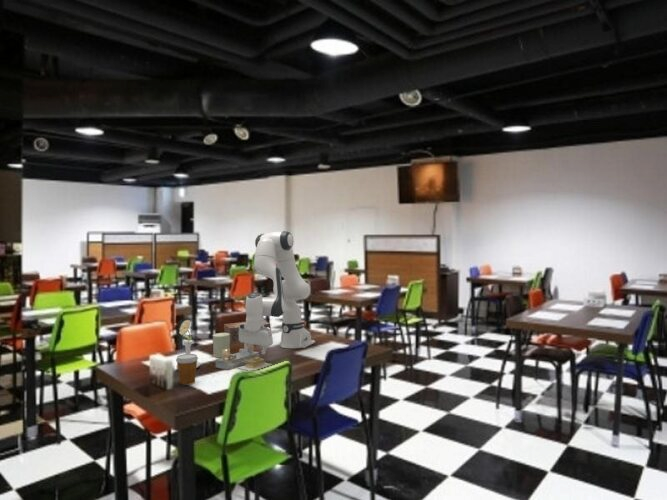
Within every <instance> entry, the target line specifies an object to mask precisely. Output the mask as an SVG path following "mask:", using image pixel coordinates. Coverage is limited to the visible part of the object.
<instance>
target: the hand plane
mask: <svg viewBox="0 0 667 500" xmlns="http://www.w3.org/2000/svg"><path fill="white" fill-rule="evenodd" d="M243 346H244V347H243V348H239V352H236V353H231V348H230V349H223V350H222V357H218V358H216V359H215V368H218V369H221V370H226V371H231V370H233V369H236V368H239V367H242V366H245V365H246V361H247V360H250V359H253V358H254V357H260V352H259V351H255V349H254V348H255V346H254V344H249V346H250V348H251V352H247V348H246V346H245V343H243Z"/></svg>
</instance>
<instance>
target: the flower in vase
mask: <svg viewBox="0 0 667 500" xmlns="http://www.w3.org/2000/svg"><path fill="white" fill-rule="evenodd" d="M190 327H191V321H190V320H189V319H186V320H184V321H183V322H182V323H181V325H180V327H179V329H178V330H179V334H180V335H181V336H184V337H185V338H186V340H182V343H183V345H184V348H185V354H192V353H191V347H192V344H193V342H194V340H193V339H192V335H191V334H190V333H191V332H190V331H189V330H190ZM187 333H188V334H189V335H188V334H187ZM200 366H201V362H200V361H199V360H198V359H197V365H196V369H197V368H199V367H200ZM176 368H177V369H178V365H177V364H176Z"/></svg>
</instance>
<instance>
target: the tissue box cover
mask: <svg viewBox="0 0 667 500" xmlns="http://www.w3.org/2000/svg"><path fill="white" fill-rule="evenodd" d="M245 322H246V321H241V322H234V323H233V322H232V323H224V324H223V330H224V331H223V333H229V334H230V345H232V344H233V345H234V344H241V343H242V342H240V341H239V325H240V324H242V323H245ZM264 327H268V328H269V329H270V330H271V323H270V322H268V321H265V320H264ZM269 329H268V330H269Z"/></svg>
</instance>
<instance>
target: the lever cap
mask: <svg viewBox="0 0 667 500" xmlns="http://www.w3.org/2000/svg"><path fill="white" fill-rule="evenodd" d="M264 363H265V358H262V357H260V356H259V357H254V358H253V359H250V360H247V361H246V364H245V365H246V367H248V368H256V367H259V366H262V365H264Z"/></svg>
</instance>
